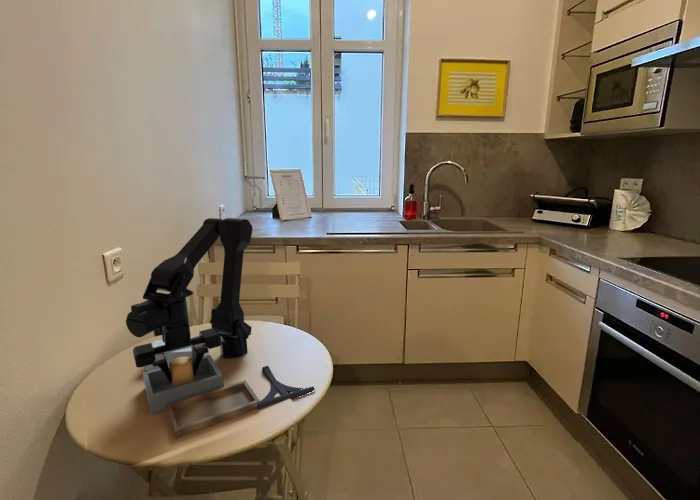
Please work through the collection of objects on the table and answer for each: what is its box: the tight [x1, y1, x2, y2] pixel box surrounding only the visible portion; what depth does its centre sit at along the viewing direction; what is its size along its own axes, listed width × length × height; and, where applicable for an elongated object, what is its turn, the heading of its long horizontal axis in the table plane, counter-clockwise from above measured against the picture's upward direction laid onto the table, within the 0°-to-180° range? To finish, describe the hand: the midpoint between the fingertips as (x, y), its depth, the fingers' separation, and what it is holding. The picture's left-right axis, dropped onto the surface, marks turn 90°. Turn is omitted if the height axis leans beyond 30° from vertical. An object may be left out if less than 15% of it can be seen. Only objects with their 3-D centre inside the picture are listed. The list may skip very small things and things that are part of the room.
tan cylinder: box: [169, 357, 194, 388], centre depth 97 cm, size 5×5×6 cm
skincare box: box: [144, 339, 210, 372], centre depth 110 cm, size 8×6×15 cm
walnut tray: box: [166, 380, 261, 439], centre depth 90 cm, size 18×10×2 cm, turn 123°
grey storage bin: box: [142, 354, 225, 415], centre depth 98 cm, size 16×12×5 cm
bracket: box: [257, 365, 316, 410], centre depth 100 cm, size 14×15×3 cm
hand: (182, 378), depth 97 cm, fingers closed on tan cylinder, 5 cm apart
